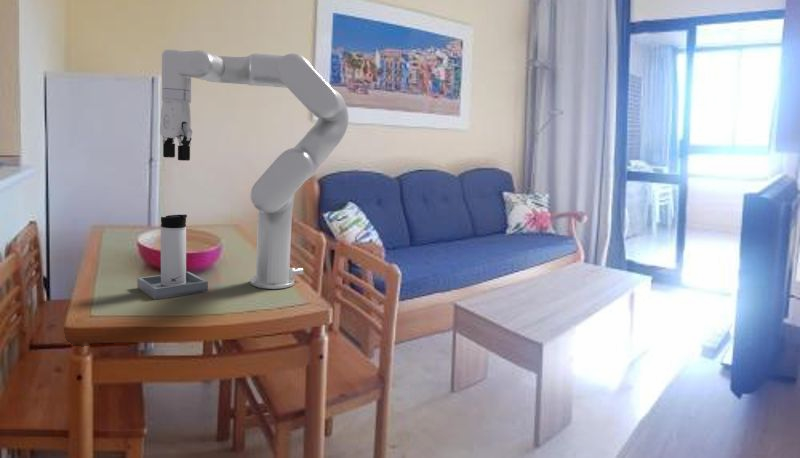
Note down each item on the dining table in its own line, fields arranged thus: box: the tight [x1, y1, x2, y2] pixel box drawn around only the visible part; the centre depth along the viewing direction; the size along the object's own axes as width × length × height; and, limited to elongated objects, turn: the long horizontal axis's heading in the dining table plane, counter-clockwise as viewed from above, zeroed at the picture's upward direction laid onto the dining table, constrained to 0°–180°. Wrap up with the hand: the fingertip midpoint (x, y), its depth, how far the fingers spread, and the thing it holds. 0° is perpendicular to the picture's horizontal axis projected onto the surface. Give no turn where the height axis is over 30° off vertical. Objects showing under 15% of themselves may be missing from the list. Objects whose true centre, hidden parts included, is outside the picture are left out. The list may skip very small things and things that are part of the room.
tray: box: [136, 271, 209, 300], centre depth 151 cm, size 14×12×3 cm
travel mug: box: [160, 213, 188, 287], centre depth 150 cm, size 6×7×20 cm
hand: (176, 158), depth 158 cm, fingers open, 9 cm apart
